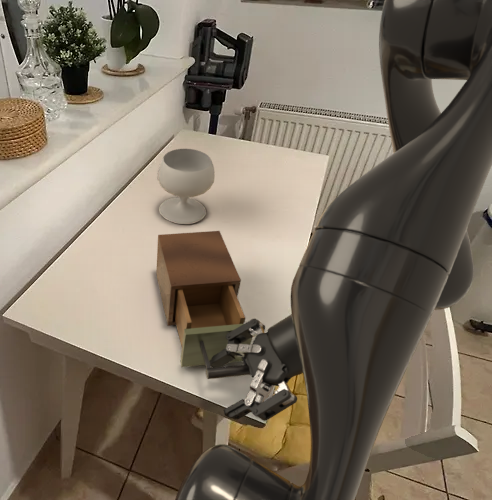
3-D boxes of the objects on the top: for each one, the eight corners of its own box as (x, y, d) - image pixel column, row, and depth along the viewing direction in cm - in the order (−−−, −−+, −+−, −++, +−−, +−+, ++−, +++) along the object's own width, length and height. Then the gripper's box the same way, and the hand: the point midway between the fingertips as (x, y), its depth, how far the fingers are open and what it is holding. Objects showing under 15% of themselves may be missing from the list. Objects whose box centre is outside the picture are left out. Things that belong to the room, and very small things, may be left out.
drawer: (258, 395, 71) (270, 363, 65) (189, 403, 69) (194, 371, 64) (224, 304, 86) (231, 271, 80) (168, 308, 85) (170, 276, 79)
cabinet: (232, 320, 84) (241, 280, 77) (167, 325, 83) (171, 286, 76) (213, 269, 95) (219, 230, 88) (156, 273, 94) (158, 234, 87)
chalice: (147, 201, 115) (149, 150, 105) (195, 192, 119) (200, 142, 109) (168, 232, 105) (171, 178, 95) (218, 221, 109) (227, 169, 99)
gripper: (277, 287, 64) (194, 343, 70) (320, 369, 53) (217, 426, 59) (302, 308, 68) (221, 359, 74) (346, 388, 57) (247, 440, 63)
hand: (219, 389), depth 66 cm, fingers open, 8 cm apart
